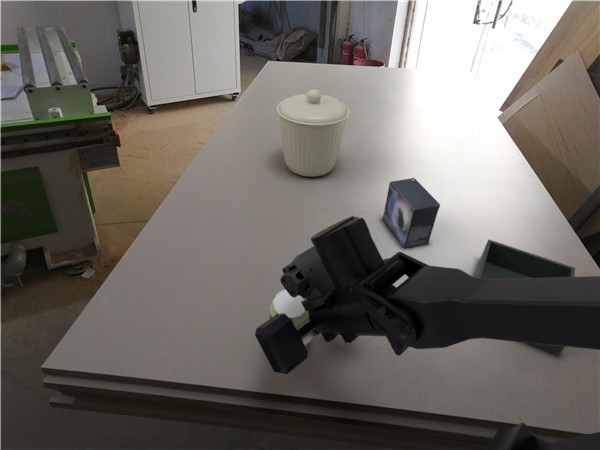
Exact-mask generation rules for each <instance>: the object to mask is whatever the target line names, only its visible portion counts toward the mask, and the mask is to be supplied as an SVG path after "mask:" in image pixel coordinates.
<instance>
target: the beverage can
mask: <svg viewBox="0 0 600 450" xmlns="http://www.w3.org/2000/svg"><path fill="white" fill-rule="evenodd" d="M305 299H306V298H305ZM305 299H303V298H302V297H301V296H299V295H298V296H297V297H295V298H293V297H291V296H290V295H289V293H288V292H287V291H286V289H285V288H283V289H281V290H279V291H278V292H277V293H276V294H275V295H274V296H273V297H272V299H271V301H270V303H269V319H270V318H272V317H273V316H275V315H276V314H283V313H284V314H286V315H287V316H288V317H289V318H290V319H291V320H292V322H293V324H294V326H295V327H297V326H298V325H299V324H301V323H302V322H303V321H305V320H306V319H307V318H309V315H308V311H306V310H305V309H304V307H303V305H302V303H301V302H302V301H303V300H305ZM309 332H310V331H309ZM307 334H308V333H307ZM309 343H310V341H309V342H308V343H307V344H306V345H305V347H306V349H307V348H308V346H309Z"/></svg>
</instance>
